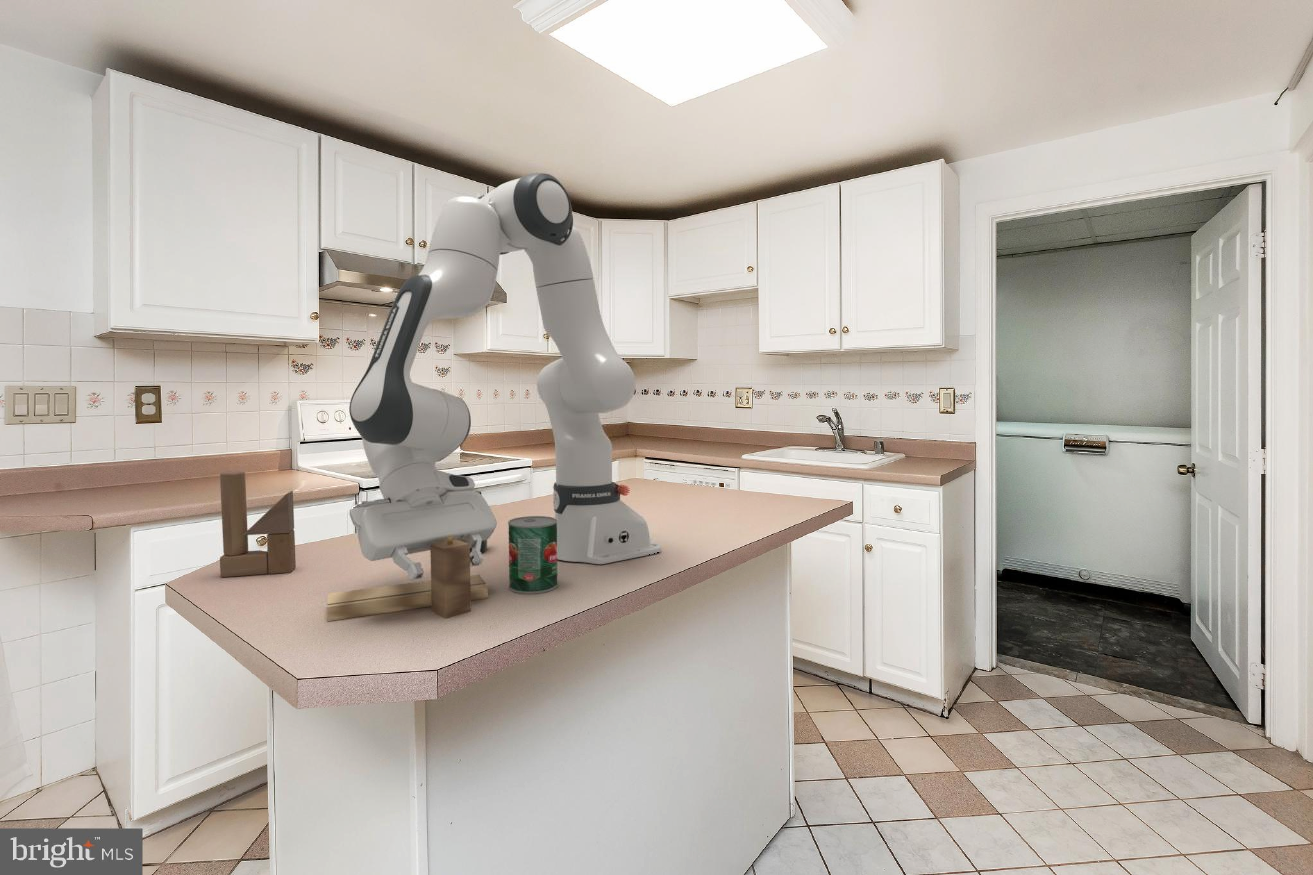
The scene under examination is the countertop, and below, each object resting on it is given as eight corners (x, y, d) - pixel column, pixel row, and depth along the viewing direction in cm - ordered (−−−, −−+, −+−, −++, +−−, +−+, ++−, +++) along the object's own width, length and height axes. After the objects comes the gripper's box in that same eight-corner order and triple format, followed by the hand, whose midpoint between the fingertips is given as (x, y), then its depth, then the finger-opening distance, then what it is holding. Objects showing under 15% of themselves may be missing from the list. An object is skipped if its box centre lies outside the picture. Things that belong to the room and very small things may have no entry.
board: (479, 586, 102) (478, 573, 102) (487, 597, 96) (487, 584, 96) (328, 606, 92) (327, 592, 91) (327, 621, 86) (327, 606, 86)
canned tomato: (564, 589, 100) (564, 522, 100) (517, 597, 96) (516, 527, 96) (548, 576, 107) (547, 514, 106) (503, 583, 103) (502, 518, 103)
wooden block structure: (290, 573, 109) (287, 471, 107) (219, 578, 105) (214, 473, 104) (296, 567, 112) (292, 469, 111) (227, 572, 109) (223, 471, 108)
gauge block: (456, 604, 93) (455, 532, 92) (470, 611, 90) (469, 536, 89) (431, 611, 90) (430, 537, 89) (445, 618, 87) (444, 541, 87)
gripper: (351, 490, 86) (383, 572, 80) (481, 476, 101) (516, 545, 95) (340, 517, 90) (369, 598, 84) (467, 500, 105) (500, 568, 99)
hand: (448, 570), depth 90 cm, fingers open, 8 cm apart
